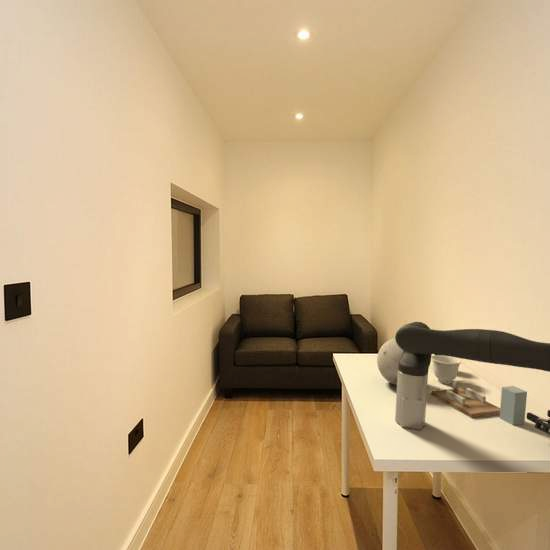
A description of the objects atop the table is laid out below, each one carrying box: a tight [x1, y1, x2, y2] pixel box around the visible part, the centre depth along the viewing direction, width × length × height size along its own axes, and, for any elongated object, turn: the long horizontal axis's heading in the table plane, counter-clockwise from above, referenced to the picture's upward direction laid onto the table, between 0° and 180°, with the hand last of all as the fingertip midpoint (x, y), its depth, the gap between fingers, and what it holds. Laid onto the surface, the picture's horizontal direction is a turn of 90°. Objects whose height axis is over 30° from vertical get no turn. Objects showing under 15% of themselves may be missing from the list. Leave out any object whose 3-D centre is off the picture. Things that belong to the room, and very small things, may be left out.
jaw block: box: [499, 385, 528, 426], centre depth 120 cm, size 5×5×11 cm
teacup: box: [431, 355, 462, 385], centre depth 156 cm, size 12×15×10 cm
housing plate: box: [430, 380, 500, 419], centre depth 133 cm, size 20×14×6 cm
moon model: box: [376, 337, 403, 386], centre depth 149 cm, size 20×20×20 cm
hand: (537, 414), depth 112 cm, fingers open, 8 cm apart
